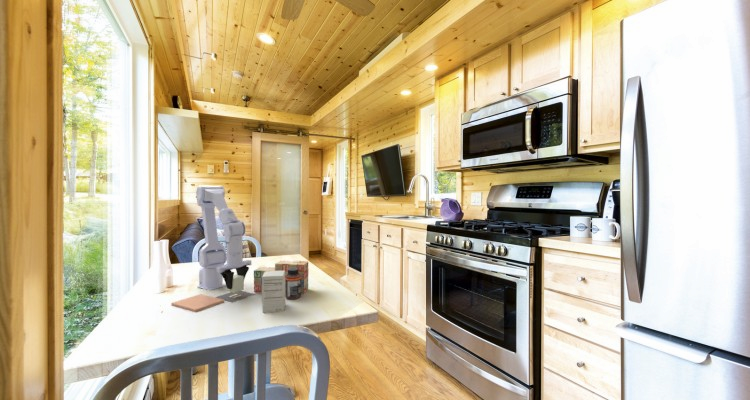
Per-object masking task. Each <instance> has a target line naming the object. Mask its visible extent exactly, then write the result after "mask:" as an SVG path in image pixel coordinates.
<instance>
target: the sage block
mask: <svg viewBox="0 0 750 400" xmlns="http://www.w3.org/2000/svg"><path fill="white" fill-rule="evenodd" d="M244 284H245V279H244V276H241V275H237V274H234V275H233V281H232V289H227V286H225V288H226V289H225V291H226V292H227V293H230V292H232V293H235V292H238V291H245V290H244V289H245V285H244Z"/></svg>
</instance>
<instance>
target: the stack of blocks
mask: <svg viewBox="0 0 750 400" xmlns="http://www.w3.org/2000/svg"><path fill="white" fill-rule="evenodd" d="M289 268H298V273H299V274H300V275H301V295H305V294H306V292H307V291H309V261H308V260H307V261H305V260H303V261H302V260H279V261H277V262H276V263H274V267H273V266H272V267H271V266H269V267H268V266H260V267H258V268H256V269H254V270H253V293H262V276H263V274H264V272H265V271H285V276H286V275H287V274H288V269H289ZM285 294H286V285H285Z"/></svg>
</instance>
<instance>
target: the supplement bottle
mask: <svg viewBox="0 0 750 400" xmlns="http://www.w3.org/2000/svg"><path fill="white" fill-rule="evenodd" d="M285 285H286V293H285V299H288V300H297V299H299V298H301V297H302V294H301V275H300V274H299V273H298V268H289V269H288V274H287V275H286V276H285Z"/></svg>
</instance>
